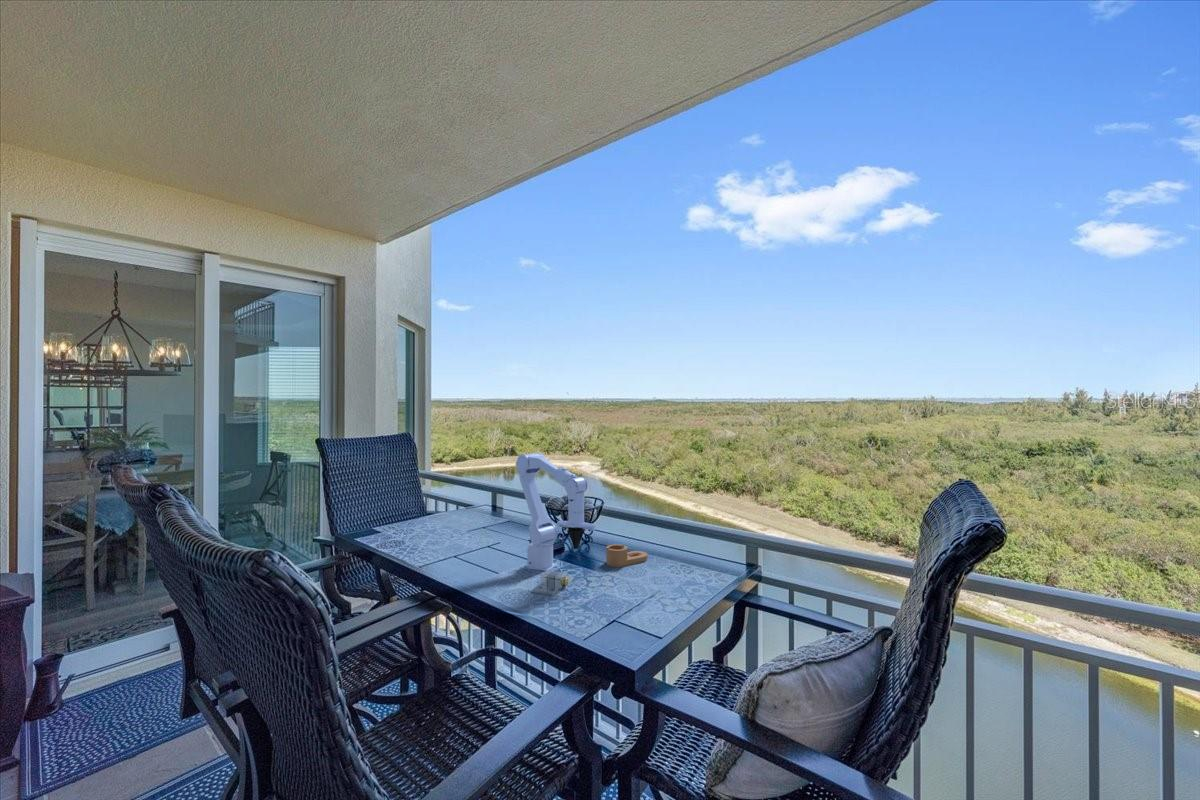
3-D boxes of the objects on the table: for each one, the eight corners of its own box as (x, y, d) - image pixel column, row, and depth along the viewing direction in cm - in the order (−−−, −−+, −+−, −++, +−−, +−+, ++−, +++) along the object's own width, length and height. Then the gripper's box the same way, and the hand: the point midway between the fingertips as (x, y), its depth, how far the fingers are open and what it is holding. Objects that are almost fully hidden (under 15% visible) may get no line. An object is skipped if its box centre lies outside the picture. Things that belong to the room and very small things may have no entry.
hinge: (532, 592, 159) (532, 580, 159) (554, 575, 174) (554, 564, 174) (552, 595, 156) (552, 583, 156) (573, 578, 171) (573, 567, 171)
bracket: (613, 570, 181) (613, 551, 181) (602, 563, 188) (602, 546, 188) (651, 562, 190) (651, 544, 191) (639, 556, 198) (639, 539, 198)
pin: (542, 583, 165) (542, 575, 165) (545, 580, 168) (545, 573, 168) (565, 586, 162) (565, 579, 162) (568, 584, 164) (568, 576, 164)
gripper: (553, 511, 172) (553, 549, 172) (590, 514, 167) (590, 553, 167) (561, 507, 179) (561, 543, 179) (597, 510, 173) (597, 548, 173)
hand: (576, 548), depth 173 cm, fingers closed
